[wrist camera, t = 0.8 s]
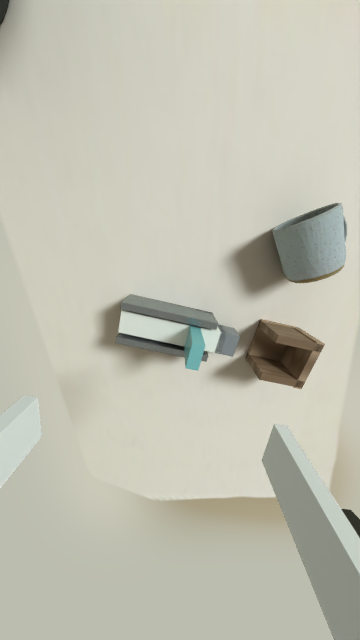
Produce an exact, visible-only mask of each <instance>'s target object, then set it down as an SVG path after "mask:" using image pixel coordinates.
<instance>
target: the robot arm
mask: <svg viewBox="0 0 360 640" xmlns="http://www.w3.org/2000/svg"><path fill="white" fill-rule="evenodd" d="M8 2H9V0H0V23H1V21H2V19H3V17H4V15H5V12H6V9H7V6H8ZM41 437H42V434H41V423H40V413H39V402H38V397H34V396H25V395H24V396H22V397H21V398H20V399H19V400H18V401H16V402H15V403H14V404H13V405H12V406H11V407H9V408H8V409H7V410H6V411H5V412H3V413H2V414H1V415H0V488H1V487H2V485H3V484H4V483H5V482H6V480H7V479H8V478H9V477H10V475H11V474H12V473H13V472H14V470H15V469H16V468H17V467H18V465H19V464H20V463H21V462H22V460H23V459H24V458H25V457H26V455H27V454H28V453H29V452H30V450H31V449H32V448H33V447H34V445H35V444H36V443H37V442H38V440H39V439H40V438H41ZM262 462H263V465H264V467H265V470H266V472H267V475H268V477H269V480H270V482H271V485H272V487H273V490H274V492H275V495H276V497H277V499H278V502H279V505H280V507H281V509H282V512H283V514H284V517H285V519H286V522H287V524H288V527H289V529H290V532H291V534H292V536H293V539H294V542H295V544H296V547H297V549H298V552H299V554H300V557H301V559H302V562H303V564H304V567H305V569H306V571H307V574H308V576H309V579H310V581H311V584H312V586H313V589H314V591H315V594H316V596H317V599H318V601H319V604H320V606H321V609H322V611H323V614H324V616H325V619H326V621H327V624H328V626H329V629H330V631H331V633H332V636H333V638H334V640H360V519H359V518H358V517H357V516H356V515H355V514H354V513H353V512H352V511H351V510H346V509H341V508H340V507H339V505H338V504H337V502H336V501H335V499H334V498H333V496H332V494H331V493H330V491H329V490H328V488H327V486H326V485H325V483H324V482H323V480H322V479H321V477H320V476H319V474H318V472H317V471H316V469H315V468H314V466H313V465H312V463H311V462H310V460H309V459H308V457H307V455H306V454H305V452H304V451H303V449H302V448H301V446H300V445H299V443H298V441H297V440H296V438H295V437H294V435H293V434H292V432H291V431H290V429H289V427H288V426H286V425H277V424H274V426H273V429H272V432H271V435H270V438H269V441H268V443H267V446H266V449H265V452H264V455H263V458H262Z"/></svg>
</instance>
